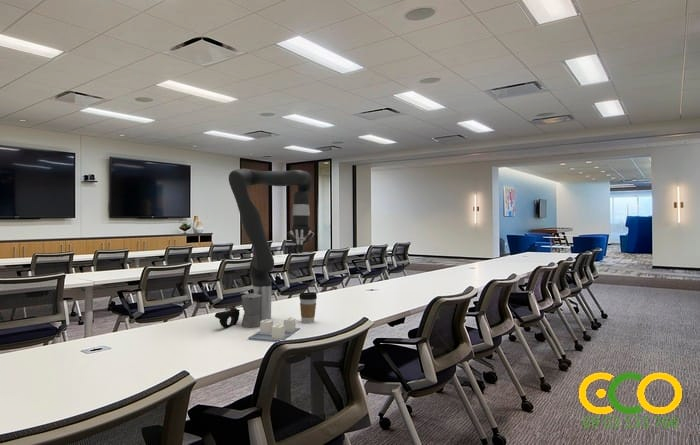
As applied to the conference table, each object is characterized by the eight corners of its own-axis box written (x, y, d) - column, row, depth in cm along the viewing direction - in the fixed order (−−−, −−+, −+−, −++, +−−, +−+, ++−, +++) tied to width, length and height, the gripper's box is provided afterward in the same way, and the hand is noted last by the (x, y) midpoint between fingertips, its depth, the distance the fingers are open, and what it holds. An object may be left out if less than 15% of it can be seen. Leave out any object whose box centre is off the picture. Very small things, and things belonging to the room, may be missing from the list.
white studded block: (283, 331, 193) (283, 318, 193) (286, 329, 197) (287, 316, 197) (292, 332, 192) (292, 319, 192) (295, 329, 196) (295, 317, 196)
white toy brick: (271, 339, 180) (271, 325, 180) (275, 336, 184) (275, 323, 184) (280, 339, 179) (281, 325, 179) (284, 337, 183) (284, 323, 183)
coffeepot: (261, 332, 196) (261, 291, 196) (239, 332, 195) (239, 291, 195) (263, 323, 212) (263, 286, 212) (242, 324, 210) (243, 286, 210)
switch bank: (246, 342, 179) (246, 338, 179) (270, 328, 202) (270, 325, 202) (280, 345, 176) (280, 341, 176) (300, 331, 199) (300, 327, 199)
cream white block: (260, 333, 188) (260, 320, 188) (264, 331, 192) (264, 318, 192) (268, 334, 187) (269, 321, 187) (272, 332, 191) (272, 319, 191)
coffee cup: (315, 326, 209) (316, 294, 209) (297, 325, 209) (298, 294, 209) (317, 322, 217) (317, 291, 217) (300, 321, 217) (300, 291, 217)
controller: (241, 326, 206) (241, 305, 206) (219, 331, 195) (219, 309, 195) (235, 325, 208) (235, 303, 208) (213, 330, 198) (213, 307, 198)
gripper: (284, 214, 199) (283, 252, 199) (312, 214, 196) (311, 253, 196) (290, 214, 206) (289, 251, 206) (317, 215, 203) (316, 252, 203)
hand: (300, 252), depth 201 cm, fingers closed
